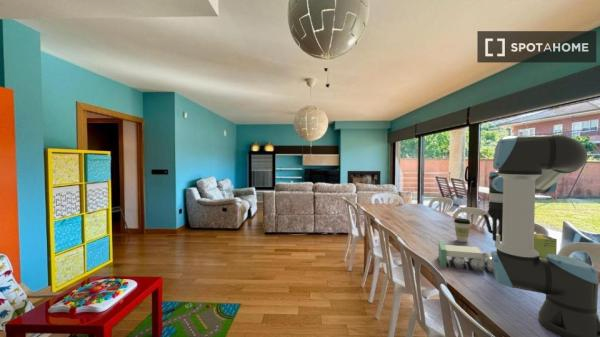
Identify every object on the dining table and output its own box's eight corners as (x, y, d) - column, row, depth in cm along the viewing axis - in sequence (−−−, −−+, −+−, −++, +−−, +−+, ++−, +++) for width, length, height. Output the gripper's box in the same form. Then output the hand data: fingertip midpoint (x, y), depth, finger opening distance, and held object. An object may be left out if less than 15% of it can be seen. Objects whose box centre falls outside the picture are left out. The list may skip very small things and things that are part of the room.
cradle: (468, 270, 129) (468, 267, 129) (448, 267, 133) (448, 264, 133) (463, 260, 142) (463, 257, 142) (445, 257, 145) (445, 255, 145)
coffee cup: (450, 239, 180) (450, 218, 180) (460, 238, 183) (461, 217, 183) (463, 243, 171) (463, 221, 170) (473, 242, 174) (474, 220, 173)
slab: (482, 259, 128) (482, 253, 128) (446, 256, 134) (446, 250, 134) (477, 252, 137) (477, 247, 137) (444, 250, 144) (443, 244, 144)
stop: (446, 266, 133) (446, 250, 133) (441, 266, 134) (441, 249, 134) (443, 257, 146) (443, 242, 146) (438, 257, 147) (438, 241, 147)
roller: (467, 259, 130) (454, 256, 132) (465, 270, 130) (452, 266, 133) (463, 251, 141) (451, 249, 143) (461, 261, 141) (449, 258, 144)
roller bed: (523, 278, 120) (523, 265, 120) (470, 270, 129) (471, 258, 128) (512, 267, 133) (512, 255, 133) (465, 260, 141) (465, 250, 141)
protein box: (556, 268, 130) (557, 239, 130) (522, 266, 134) (523, 237, 133) (541, 261, 141) (542, 233, 140) (510, 258, 144) (510, 232, 143)
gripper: (511, 201, 130) (510, 246, 130) (480, 199, 135) (480, 243, 135) (516, 203, 123) (516, 251, 123) (484, 201, 128) (483, 247, 128)
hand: (497, 247), depth 129 cm, fingers closed
